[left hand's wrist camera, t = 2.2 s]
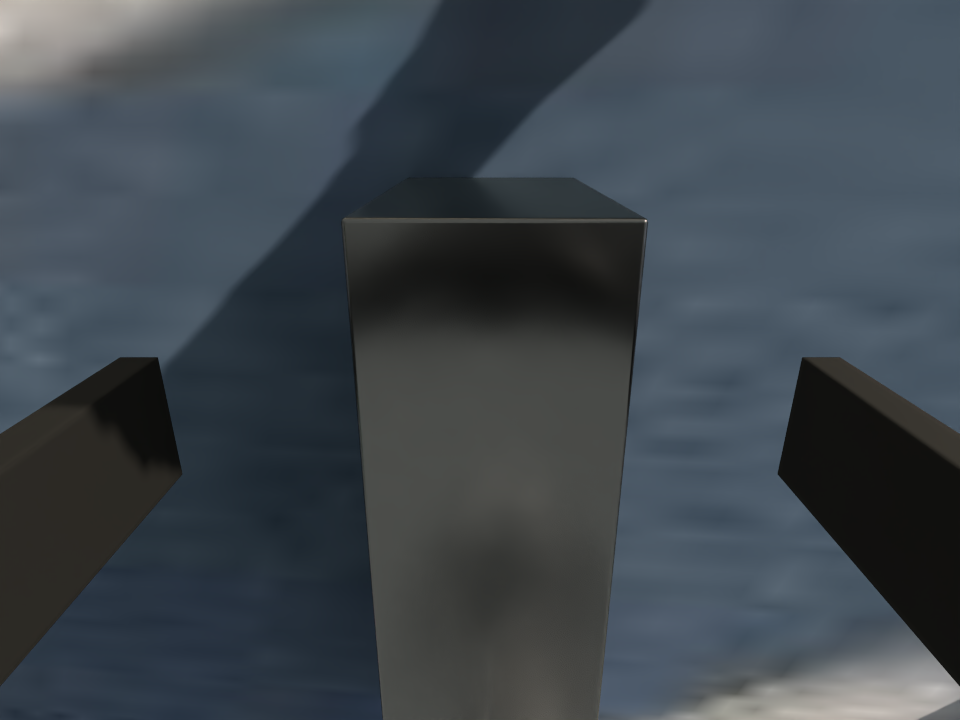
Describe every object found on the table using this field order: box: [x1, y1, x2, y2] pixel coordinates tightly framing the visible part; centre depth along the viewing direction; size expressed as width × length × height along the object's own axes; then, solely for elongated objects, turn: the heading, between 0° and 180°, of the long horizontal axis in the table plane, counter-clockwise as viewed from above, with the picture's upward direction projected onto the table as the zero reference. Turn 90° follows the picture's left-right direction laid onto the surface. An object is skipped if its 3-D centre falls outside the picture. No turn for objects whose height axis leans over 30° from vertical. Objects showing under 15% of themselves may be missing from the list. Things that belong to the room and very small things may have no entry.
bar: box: [341, 178, 648, 720], centre depth 18 cm, size 22×5×9 cm, turn 0°
